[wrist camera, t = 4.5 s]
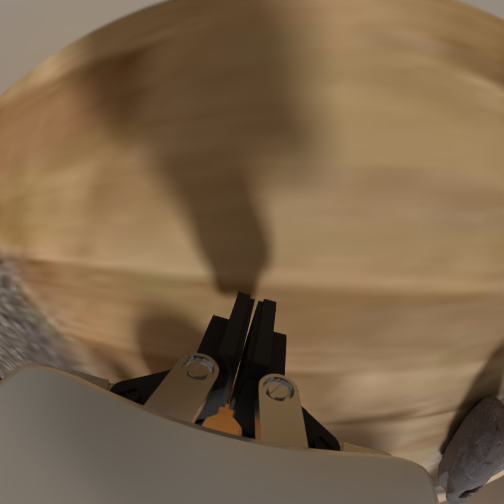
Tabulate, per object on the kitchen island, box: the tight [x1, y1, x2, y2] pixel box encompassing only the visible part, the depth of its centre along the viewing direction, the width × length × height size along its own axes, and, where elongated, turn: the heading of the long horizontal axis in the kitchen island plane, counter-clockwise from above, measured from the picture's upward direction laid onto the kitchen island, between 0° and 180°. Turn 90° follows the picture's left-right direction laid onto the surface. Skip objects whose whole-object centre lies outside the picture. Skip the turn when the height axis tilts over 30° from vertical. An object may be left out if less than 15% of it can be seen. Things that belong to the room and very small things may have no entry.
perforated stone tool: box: [437, 396, 504, 504], centre depth 13 cm, size 15×5×7 cm, turn 14°
